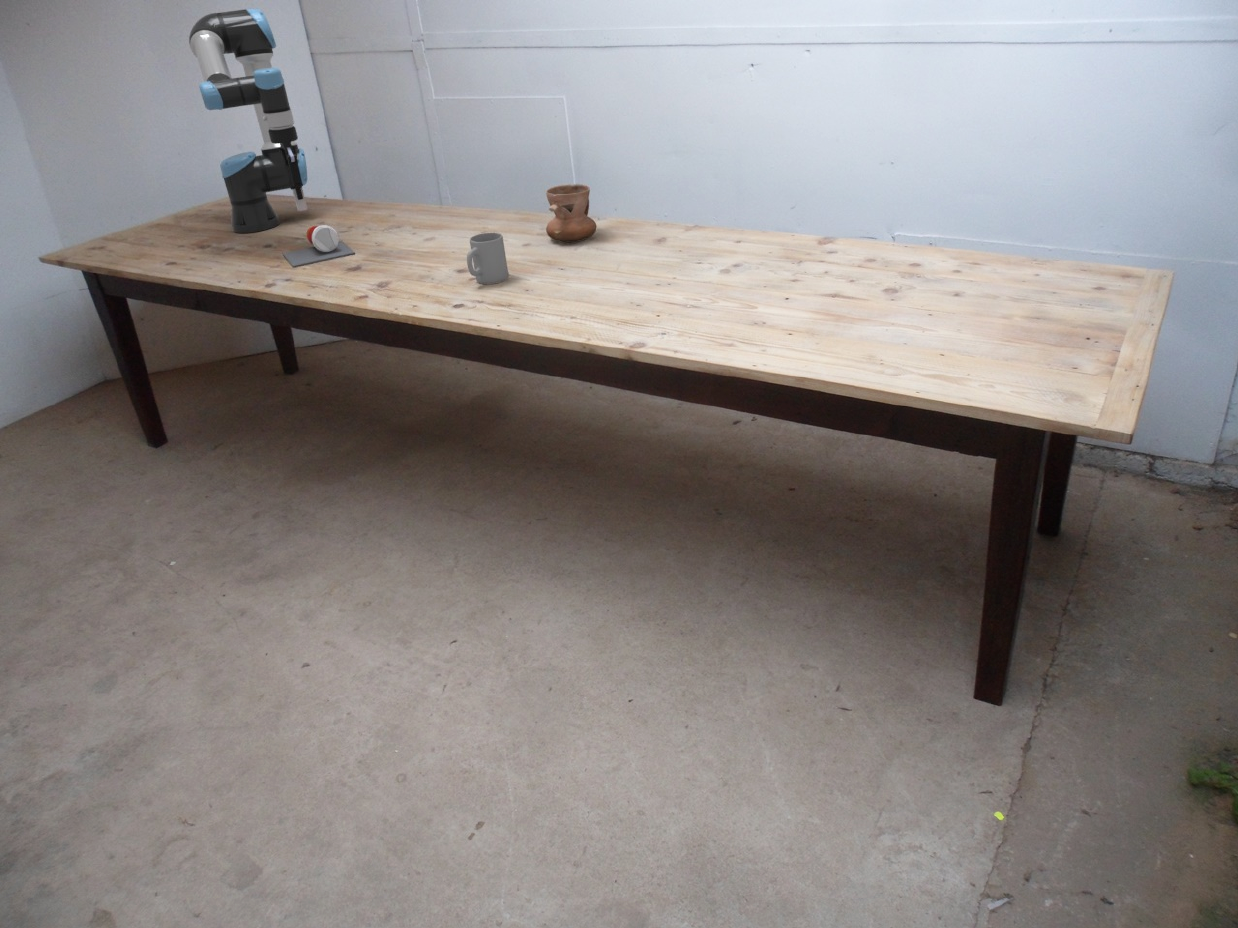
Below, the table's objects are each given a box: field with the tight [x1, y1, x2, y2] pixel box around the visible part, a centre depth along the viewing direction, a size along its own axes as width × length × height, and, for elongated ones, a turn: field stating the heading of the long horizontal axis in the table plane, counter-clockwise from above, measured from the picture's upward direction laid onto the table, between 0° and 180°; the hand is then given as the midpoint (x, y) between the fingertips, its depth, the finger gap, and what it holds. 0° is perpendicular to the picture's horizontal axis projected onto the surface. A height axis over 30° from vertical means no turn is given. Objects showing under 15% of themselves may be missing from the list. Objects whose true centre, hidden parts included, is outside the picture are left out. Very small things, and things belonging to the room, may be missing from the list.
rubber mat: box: [282, 240, 356, 268], centre depth 271 cm, size 16×18×1 cm
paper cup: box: [306, 224, 340, 252], centre depth 272 cm, size 8×8×14 cm
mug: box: [466, 232, 509, 285], centre depth 233 cm, size 12×8×11 cm
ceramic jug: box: [545, 183, 597, 243], centre depth 259 cm, size 18×14×14 cm
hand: (302, 209), depth 272 cm, fingers closed
